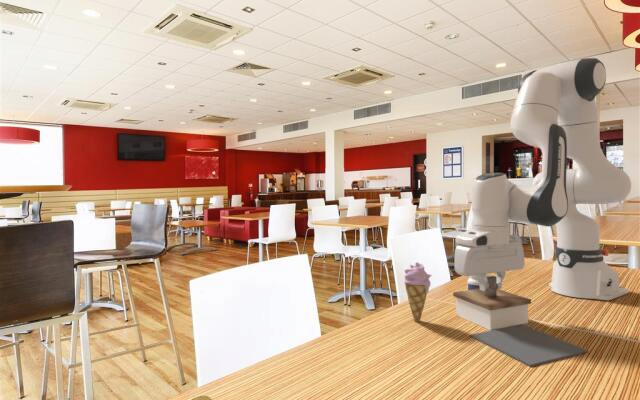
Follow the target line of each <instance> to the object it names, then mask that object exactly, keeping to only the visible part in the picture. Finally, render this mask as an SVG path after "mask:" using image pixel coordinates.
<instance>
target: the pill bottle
mask: <svg viewBox="0 0 640 400" xmlns="http://www.w3.org/2000/svg"><path fill="white" fill-rule="evenodd" d="M466 284H467V290H473V289H480V283H479V282H478V280H477V278H476V275H473V276H469V278H467V283H466Z"/></svg>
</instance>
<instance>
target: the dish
mask: <svg viewBox="0 0 640 400" xmlns="http://www.w3.org/2000/svg"><path fill="white" fill-rule="evenodd" d="M528 305H529V304H525V305H520V306H514V307H508V308H502V309H497V310H491V311H490V310H488V309H485V308H483V307H480V306H477V305H475V304H472V303H470V302H467V301H465V300H462V299H459V298H457V297H455V315H456V316H458V317H460V318H463V319H465V320H467V321H469V322H471V323H474V324H476V325H478V326H480V327H482V328H485V329H487V330H488V331H492V330H497V329H502V328H507V327H512V326H517V325H524V324H528V323H529V317H528V315H529V306H528Z"/></svg>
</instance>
